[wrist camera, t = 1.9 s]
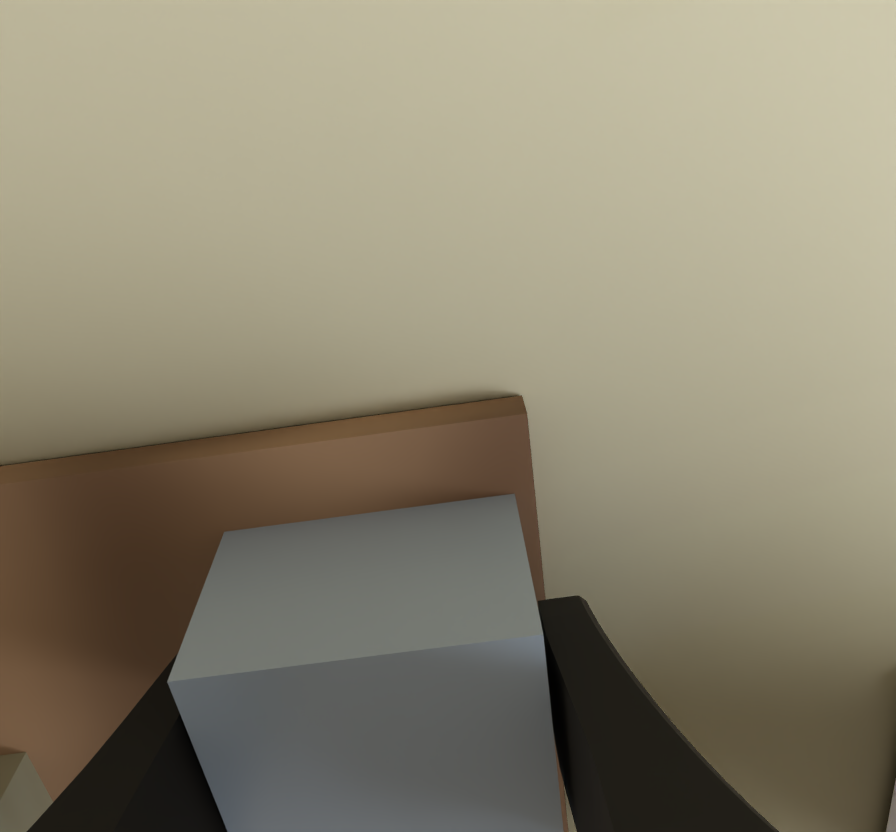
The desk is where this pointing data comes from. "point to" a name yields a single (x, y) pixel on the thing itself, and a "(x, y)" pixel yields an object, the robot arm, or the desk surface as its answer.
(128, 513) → the build board
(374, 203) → the desk surface
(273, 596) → the brick slate
